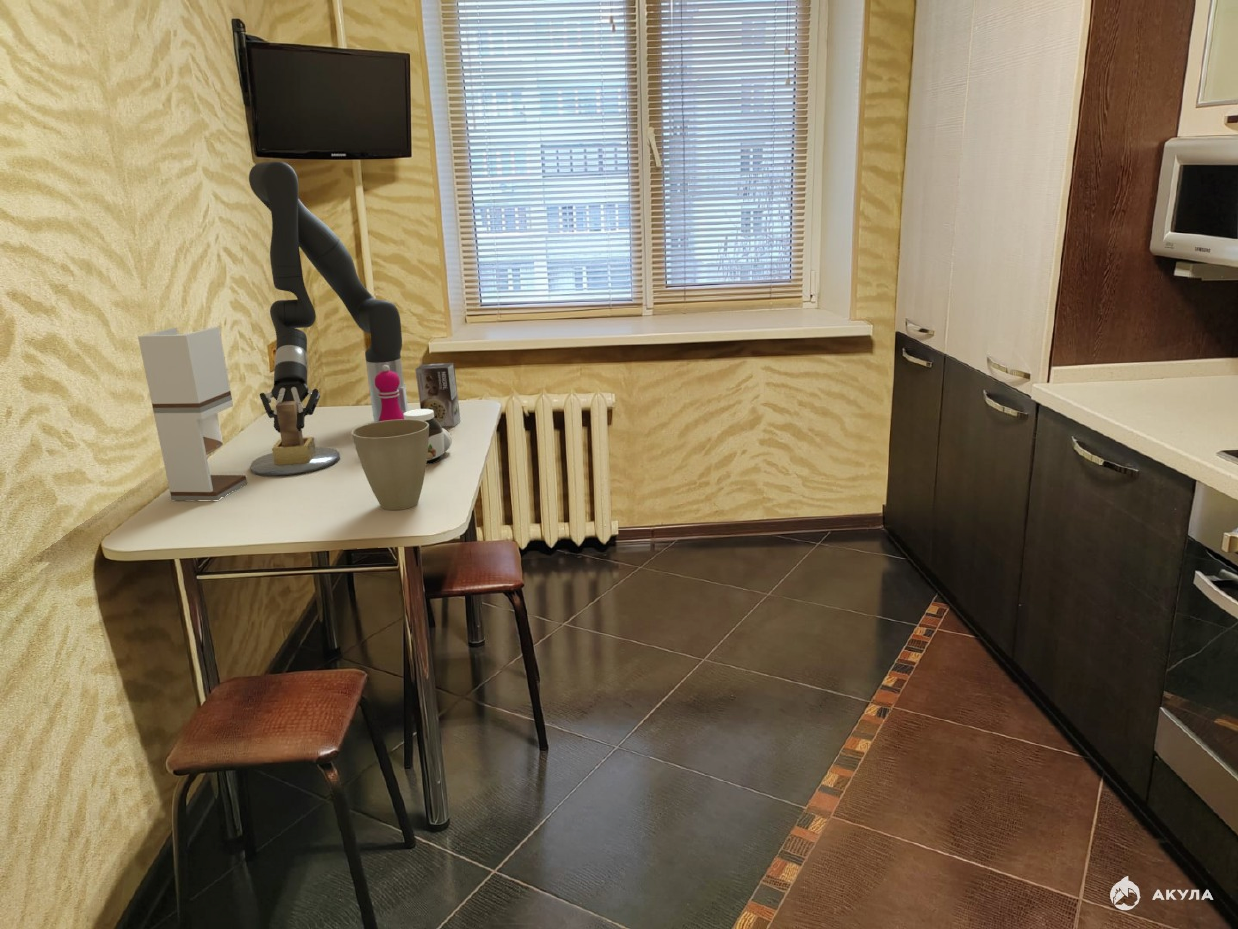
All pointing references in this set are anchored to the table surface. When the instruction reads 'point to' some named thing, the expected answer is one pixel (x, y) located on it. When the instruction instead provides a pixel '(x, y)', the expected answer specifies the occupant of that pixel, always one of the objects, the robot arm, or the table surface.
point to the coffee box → (439, 392)
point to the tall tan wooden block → (289, 423)
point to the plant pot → (394, 459)
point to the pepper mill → (388, 394)
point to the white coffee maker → (189, 408)
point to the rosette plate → (295, 459)
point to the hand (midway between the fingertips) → (289, 429)
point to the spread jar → (432, 433)
